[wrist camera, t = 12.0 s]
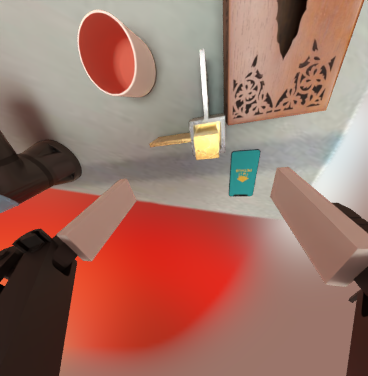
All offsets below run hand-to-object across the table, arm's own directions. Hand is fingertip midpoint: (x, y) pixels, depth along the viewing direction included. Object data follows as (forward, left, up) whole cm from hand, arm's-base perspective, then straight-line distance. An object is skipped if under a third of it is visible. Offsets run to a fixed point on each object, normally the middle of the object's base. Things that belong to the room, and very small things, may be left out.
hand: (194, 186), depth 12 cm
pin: (+1, 0, -24) cm, 24 cm away
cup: (-14, +15, -27) cm, 34 cm away
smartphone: (+10, -14, -27) cm, 32 cm away
